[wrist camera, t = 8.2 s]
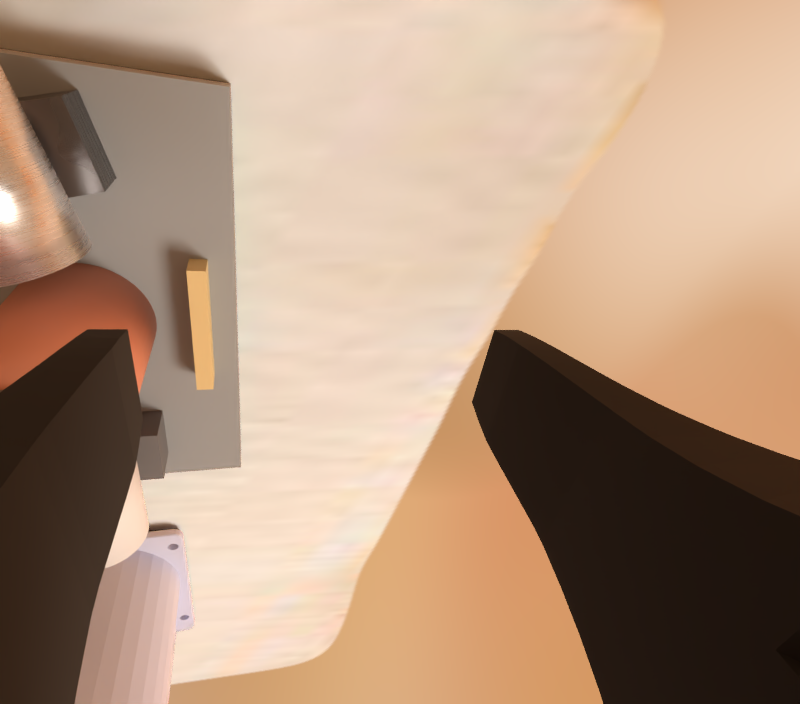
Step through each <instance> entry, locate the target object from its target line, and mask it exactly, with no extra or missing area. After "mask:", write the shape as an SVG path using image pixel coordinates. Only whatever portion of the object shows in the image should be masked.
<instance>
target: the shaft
mask: <svg viewBox="0 0 800 704" xmlns="http://www.w3.org/2000/svg"><path fill="white" fill-rule="evenodd" d="M116 178H117V177H116V175H115V173H114V170H113V168H112V166H111V164H110V161H109V159H108V157H107V155H106V152H105V150H104V148H103V145H102V143H101V141H100V139H99V136H98V134H97V132H96V130H95V127H94V125H93V123H92V120H91V118H90V116H89V114H88V111H87V109H86V107H85V105H84V102H83V100H82V98H81V95H80V93H79V91H78V90H70V91H63V92H55V93H47V94H40V95H32V96H25V97H17V96H16V95H15V93H14V91H13V89H12V87H11V85H10V83H9V81H8V79H7V77H6V75H5V73H4V71H3V69H2V67H1V65H0V287H6V286H11V285H16V284H20V283H24V282H27V281H31V280H34V279H37V278H40V277H43V276H46V275H49V274H51V273H54V272H56V271H59V270H61V269H63V268H65V267H67V266H69V265H71V264H73V263H75V262H77V261H78V260H80V259H81V258H83V257H84V256H85V255H86V254H87V253H88V252H89V251H90V250H91V248H92V243H91V241H90V239H89V237H88V235H87V233H86V231H85V229H84V227H83V225H82V223H81V221H80V219H79V218H78V216H77V214H76V212H75V210H74V208H73V206H72V204H71V202H70V200H69V198H70V197H76V196H82V195H88V194H94V193H100V192H105V191H106V190H107V189H108V188H109V187H110V185H111V184H112V183H113V182H114V180H115V179H116Z"/></svg>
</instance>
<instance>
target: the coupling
mask: <svg viewBox="0 0 800 704" xmlns="http://www.w3.org/2000/svg"><path fill="white" fill-rule="evenodd" d="M87 329H128V333H129V339H130V345H131V351H132V357H133V362H134V368H135V374H136V380H137V386H138V392H139V393H140V389H141V386H142V382H143V379H144V375H145V372H146V368H147V365H148V361H149V358H150V354H151V351H152V347H153V344H154V340H155V336H156V332H157V322H156V316H155V313H154V310H153V308H152V306H151V304H150V302H149V301H148V299H147V298H146V297H145V295H144V294H143V293H142V292H141V291H140V290H139V289H138V288H137V287H136V286H135V285H134V284H132V283H131V282H130V281H128V280H127V279H125V278H124V277H122V276H120V275H119V274H116V273H114V272H112V271H110V270H107V269H104V268H102V267H98V266H94V265H90V264H83V263H73V264H71V265H69V266H67V267H65V268H63V269H61V270H59V271H56V272H54V273H51V274H49V275H46V276H43V277H40V278H37V279H34V280H31V281H27V282H24V283H20V284H18V285H17V287H16V288H15V289H14V290H13V291H12V292H11V294H10V295H9V296H8V297H7V298H6V299H5V300H4V302H3V303H2V304H1V305H0V392H1V391H3V390H4V389H5V388H7V387H8V386H10V385H11V384H12V383H14V382H15V381H17V380H18V379H19V378H21V377H22V376H23V375H25V374H26V373H28V372H29V371H30V370H32V369H33V368H35V367H36V366H37V365H39V364H40V363H41V362H43V361H44V360H45V359H47V358H48V357H50V356H51V355H52V354H54V353H55V352H56V351H58V350H59V349H60V348H62V347H63V346H64V345H66V344H67V343H68V342H70V341H71V340H73V339H74V338H75V337H77V336H78V335H80V334H81V333H83V332H84V331H86V330H87Z"/></svg>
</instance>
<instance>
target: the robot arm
mask: <svg viewBox="0 0 800 704" xmlns="http://www.w3.org/2000/svg"><path fill="white" fill-rule="evenodd" d="M472 403H473V406H474V409H475V412H476V415H477V417H478V420H479V423H480V426H481V428H482V431H483V433H484V436H485V438H486V441H487V443H488V444H489V446H490V448H491V450H492V452H493V454H494V456H495V458H496V459H497V461H498V463H499V465H500V467H501V469H502V470H503V472H504V473H505V476H506V477H507V479H508V481H509V483H510V485H511V486H512V488H513V490H514V492H515V494H516V495H517V497H518V499H519V501H520V503H521V504H522V506H523V508H524V510H525V512H526V513H527V515H528V517H529V519H530V521H531V522H532V524H533V526H534V528H535V530H536V532H537V534H538V536H539V538H540V540H541V542H542V544H543V546H544V548H545V551H546V553H547V555H548V558H549V560H550V563H551V565H552V567H553V570H554V572H555V574H556V577H557V579H558V581H559V584H560V586H561V588H562V591H563V593H564V596H565V599H566V601H567V604H568V606H569V609H570V611H571V614H572V616H573V619H574V622H575V624H576V627H577V629H578V632H579V634H580V637H581V640H582V643H583V646H584V648H585V651H586V654H587V657H588V660H589V662H590V665H591V668H592V671H593V674H594V677H595V680H596V683H597V685H598V688H599V691H600V694H601V697H602V700H603V704H800V460H798V459H794V458H792V457H789V456H786V455H782V454H780V453H777V452H774V451H771V450H769V449H766V448H763V447H760V446H758V445H755V444H752V443H749V442H747V441H744V440H741V439H739V438H736V437H733V436H731V435H728V434H726V433H723V432H721V431H719V430H716V429H714V428H711V427H709V426H707V425H704V424H702V423H700V422H697V421H695V420H693V419H691V418H688V417H686V416H684V415H681V414H679V413H677V412H675V411H673V410H671V409H669V408H666V407H664V406H662V405H660V404H658V403H656V402H654V401H652V400H650V399H648V398H646V397H644V396H642V395H640V394H638V393H636V392H634V391H632V390H631V389H629V388H627V387H625V386H623V385H621V384H619V383H617V382H616V381H613V380H612V379H610V378H608V377H606V376H604V375H603V374H601V373H599V372H597V371H596V370H594V369H592V368H590V367H588V366H587V365H585V364H583V363H581V362H579V361H578V360H576V359H574V358H572V357H570V356H569V355H567V354H565V353H563V352H561V351H560V350H558V349H556V348H554V347H553V346H551V345H549V344H547V343H545V342H543V341H541V340H539V339H537V338H535V337H533V336H531V335H529V334H527V333H524V332H522V331H519V330H494V333H493V336H492V339H491V343H490V346H489V349H488V352H487V356H486V359H485V362H484V365H483V369H482V372H481V375H480V379H479V382H478V385H477V388H476V391H475V395H474V398H473V401H472ZM142 422H143V415H142V409H141V403H140V397H139V392H138V386H137V380H136V374H135V368H134V362H133V357H132V351H131V345H130V339H129V333H128V329H87V330H86V331H84V332H83V333H81V334H80V335H78V336H77V337H75V338H74V339H73V340H71V341H70V342H68V343H67V344H66V345H64V346H63V347H62V348H60V349H59V350H58V351H56V352H55V353H54V354H52V355H51V356H50V357H48V358H47V359H45V360H44V361H43V362H41V363H40V364H39V365H37V366H36V367H35V368H33V369H32V370H30V371H29V372H28V373H26V374H25V375H23V376H22V377H21V378H19V379H18V380H17V381H15V382H14V383H12V384H11V385H10V386H8V387H7V388H5V389H4V390H3V391H1V392H0V704H168V702H169V693H170V684H171V675H172V666H173V658H174V649H175V640H176V632H178V631H184V630H188V629H191V628H192V627H193V626H194V624H195V616H194V608H193V601H192V594H191V586H190V579H189V572H188V564H187V557H186V550H185V542H184V535H183V532H182V531H180V530H178V529H169V530H160V531H151V532H148V534H147V536H146V539H145V540H144V542H143V543H142V545H141V546H140V547H139V548H138V549H137V550H136V551H135V552H134V553H133V554H132V555H131V556H129V557H128V558H127V559H125V560H123V561H122V562H120V563H118V564H116V565H113V566H110V567H107V568H105V566H106V562H107V559H108V556H109V553H110V549H111V546H112V543H113V540H114V536H115V533H116V530H117V527H118V523H119V520H120V517H121V514H122V510H123V507H124V504H125V501H126V497H127V494H128V491H129V487H130V484H131V481H132V477H133V474H134V470H135V467H136V461H137V455H138V449H139V443H140V436H141V429H142Z"/></svg>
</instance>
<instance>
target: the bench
mask: <svg viewBox="0 0 800 704" xmlns="http://www.w3.org/2000/svg"><path fill="white" fill-rule="evenodd" d="M0 65H1V67H2V69H3V71H4V73H5V75H6V77H7V79H8V81H9V83H10V85H11V87H12V89H13V91H14V93H15V95H16V96H17V97H25V96H32V95H40V94H47V93H55V92H63V91H70V90H78V91H79V93H80V95H81V98H82V100H83V102H84V105H85V107H86V109H87V111H88V114H89V116H90V118H91V120H92V123H93V125H94V127H95V130H96V132H97V134H98V136H99V139H100V141H101V143H102V145H103V148H104V150H105V152H106V155H107V157H108V159H109V161H110V164H111V166H112V168H113V170H114V173H115V175H116V177H117V178H116V179H115V180H114V182H113V183H112V184H111V185H110V187H109V188H108V189H107V190H106V191H105V192H100V193H94V194H88V195H82V196H76V197H70V198H69V200H70V202H71V204H72V206H73V208H74V210H75V212H76V214H77V216H78V218H79V219H80V221H81V223H82V225H83V227H84V229H85V231H86V233H87V235H88V237H89V239H90V241H91V243H92V248H91V250H90V251H89V252H88V253H87V254H86V255H85V256H84V257H83V258H81V259H80V260H78V261H77V262H75V263H83V264H90V265H94V266H98V267H102V268H104V269H107V270H110V271H112V272H114V273H116V274H119V275H120V276H122V277H124V278H125V279H127V280H128V281H130V282H131V283H132V284H134V285H135V286H136V287H137V288H138V289H139V290H140V291H141V292H142V293H143V294H144V295H145V297H146V298H147V299H148V301H149V302H150V304H151V306H152V308H153V310H154V313H155V316H156V322H157V332H156V336H155V340H154V344H153V347H152V351H151V354H150V358H149V361H148V365H147V368H146V372H145V375H144V379H143V382H142V386H141V389H140V393H139V397H140V403H141V409H142V415H143V422H142V429H141V436H140V443H139V449H138V455H137V461H136V467H135V470H134V474H133V477H132V481H131V484H130V487H129V491H128V494H127V497H126V501H125V504H124V507H123V510H122V514H121V517H120V520H119V523H118V527H117V530H116V533H115V536H114V540H113V543H112V546H111V549H110V553H109V556H108V559H107V562H106V566H105V568H107V567H110V566H113V565H116V564H118V563H120V562H122V561H123V560H125V559H127V558H128V557H129V556H131V555H132V554H133V553H134V552H135V551H136V550H137V549H138V548H139V547H140V546H141V545H142V543H143V542H144V540H145V539H146V536H147V534H148V530H149V521H148V516H147V511H146V506H145V500H144V495H143V490H142V485H141V480H148V479H160V478H164V475H165V473H173V472H185V471H198V470H210V469H222V468H234V467H241V438H240V402H239V367H238V332H237V296H236V261H235V226H234V190H233V155H232V119H231V84H230V83H224V82H218V81H211V80H205V79H198V78H191V77H185V76H178V75H172V74H165V73H159V72H152V71H145V70H139V69H132V68H126V67H119V66H112V65H106V64H99V63H93V62H86V61H80V60H73V59H66V58H60V57H53V56H47V55H40V54H33V53H27V52H20V51H14V50H7V49H1V48H0ZM17 285H18V284H16V285H11V286H6V287H0V305H1V304H2V303H3V302H4V300H5V299H6V298H7V297H8V296H9V295H10V294H11V292H12V291H13V290H14V289H15V288H16V287H17Z"/></svg>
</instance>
